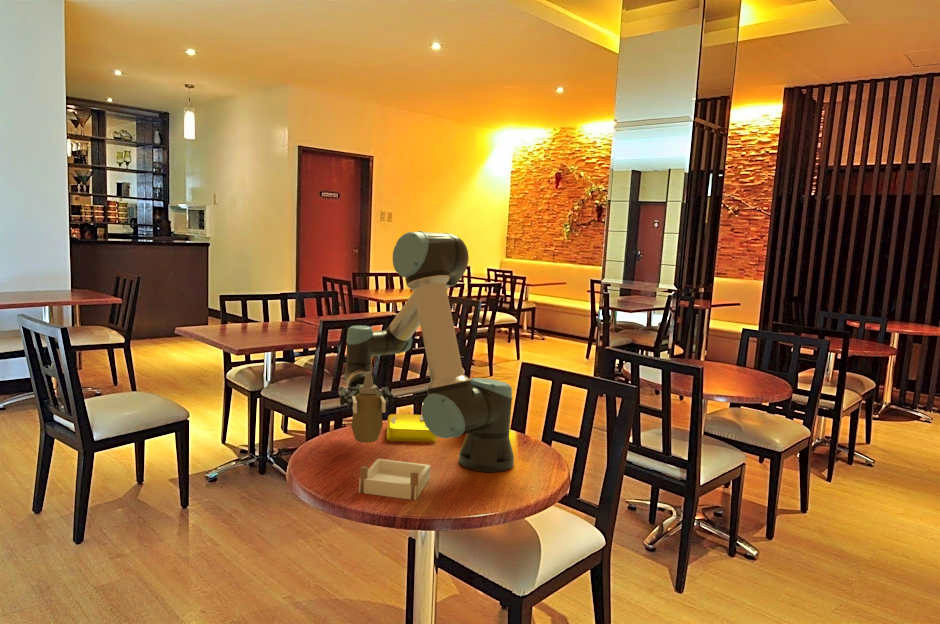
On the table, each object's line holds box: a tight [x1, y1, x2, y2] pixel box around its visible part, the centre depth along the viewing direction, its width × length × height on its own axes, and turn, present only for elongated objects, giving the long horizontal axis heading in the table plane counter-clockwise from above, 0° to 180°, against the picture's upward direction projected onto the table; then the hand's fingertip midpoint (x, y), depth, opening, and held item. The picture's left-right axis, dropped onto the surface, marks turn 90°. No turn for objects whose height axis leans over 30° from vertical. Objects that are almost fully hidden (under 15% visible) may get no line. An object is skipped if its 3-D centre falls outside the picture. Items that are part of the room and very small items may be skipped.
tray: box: [358, 458, 432, 501], centre depth 158 cm, size 14×14×6 cm
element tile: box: [386, 413, 438, 443], centre depth 199 cm, size 15×15×5 cm
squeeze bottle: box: [351, 371, 383, 444], centre depth 167 cm, size 8×8×18 cm
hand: (369, 407), depth 162 cm, fingers closed on squeeze bottle, 6 cm apart
